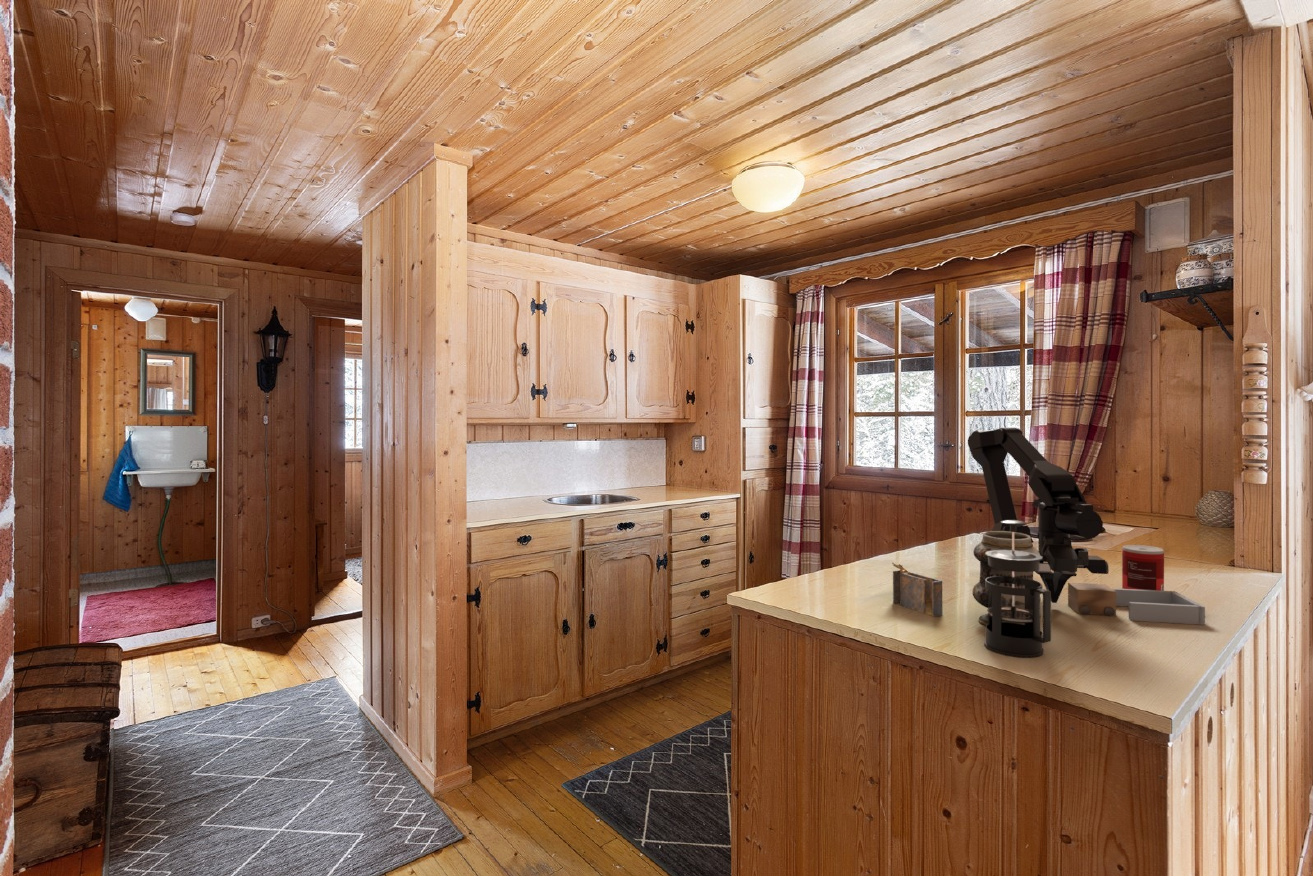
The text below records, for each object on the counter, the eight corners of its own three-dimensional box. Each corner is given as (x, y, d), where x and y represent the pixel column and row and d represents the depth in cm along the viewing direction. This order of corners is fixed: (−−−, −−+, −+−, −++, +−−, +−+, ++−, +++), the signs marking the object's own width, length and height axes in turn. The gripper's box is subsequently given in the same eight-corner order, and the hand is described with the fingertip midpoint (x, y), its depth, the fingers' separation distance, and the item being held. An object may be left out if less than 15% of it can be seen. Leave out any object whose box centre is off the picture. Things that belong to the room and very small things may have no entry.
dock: (1130, 620, 131) (1130, 603, 131) (1107, 603, 142) (1107, 588, 142) (1204, 624, 127) (1205, 607, 127) (1174, 607, 139) (1175, 591, 139)
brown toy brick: (1078, 614, 135) (1078, 590, 135) (1067, 604, 142) (1067, 581, 142) (1117, 616, 134) (1117, 592, 133) (1103, 606, 140) (1103, 583, 140)
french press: (969, 643, 119) (968, 518, 119) (1004, 635, 123) (1003, 514, 123) (1029, 664, 109) (1029, 528, 108) (1065, 655, 113) (1065, 523, 112)
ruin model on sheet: (891, 605, 146) (891, 562, 146) (901, 603, 147) (901, 560, 147) (931, 619, 135) (931, 572, 135) (942, 616, 137) (942, 571, 136)
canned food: (1149, 591, 152) (1149, 544, 151) (1172, 600, 144) (1173, 551, 144) (1114, 591, 153) (1114, 544, 152) (1136, 600, 145) (1136, 551, 144)
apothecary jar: (1015, 637, 122) (1015, 542, 122) (959, 620, 133) (959, 532, 132) (1054, 626, 128) (1054, 535, 127) (997, 611, 138) (997, 527, 138)
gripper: (1014, 535, 134) (1014, 610, 135) (1119, 538, 129) (1119, 616, 129) (1002, 526, 145) (1002, 596, 145) (1098, 529, 140) (1098, 601, 140)
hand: (1053, 602), depth 140 cm, fingers closed
